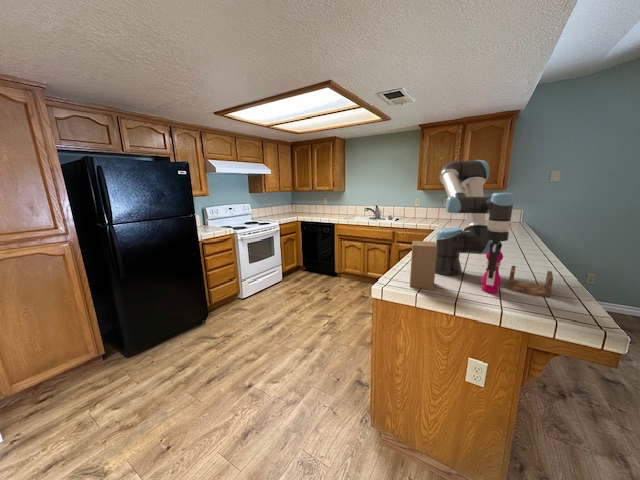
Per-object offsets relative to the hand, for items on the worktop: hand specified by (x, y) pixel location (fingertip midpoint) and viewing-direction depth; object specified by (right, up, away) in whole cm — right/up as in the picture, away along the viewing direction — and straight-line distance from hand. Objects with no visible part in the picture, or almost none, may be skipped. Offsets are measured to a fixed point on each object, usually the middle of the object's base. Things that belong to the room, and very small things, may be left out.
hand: (490, 282), depth 112 cm
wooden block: (-27, -3, +9) cm, 29 cm away
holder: (+18, -3, +2) cm, 18 cm away
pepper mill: (0, -4, +1) cm, 4 cm away
